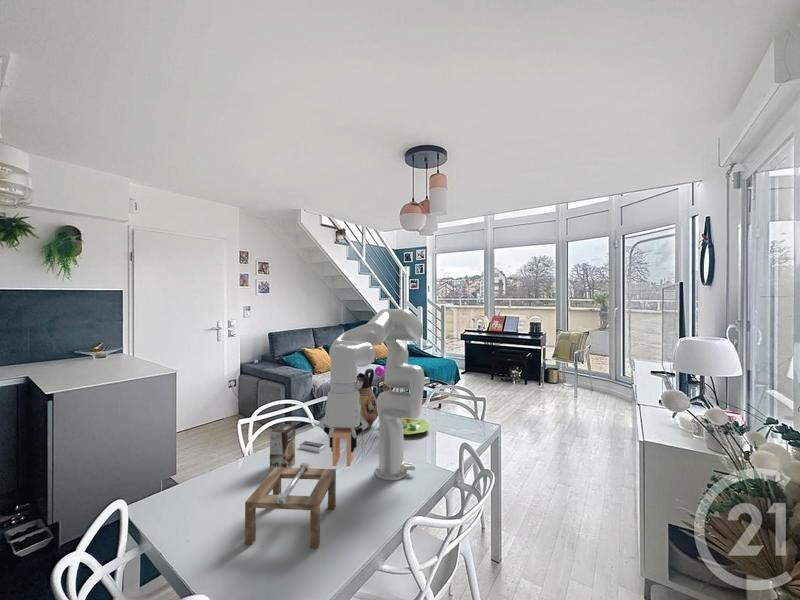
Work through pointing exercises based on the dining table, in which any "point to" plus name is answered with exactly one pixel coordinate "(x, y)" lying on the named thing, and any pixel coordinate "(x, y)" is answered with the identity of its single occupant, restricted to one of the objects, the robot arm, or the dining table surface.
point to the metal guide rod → (292, 484)
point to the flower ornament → (408, 424)
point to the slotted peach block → (337, 435)
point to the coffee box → (282, 446)
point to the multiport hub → (312, 446)
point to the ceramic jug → (367, 398)
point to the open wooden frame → (292, 499)
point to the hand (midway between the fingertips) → (343, 449)
